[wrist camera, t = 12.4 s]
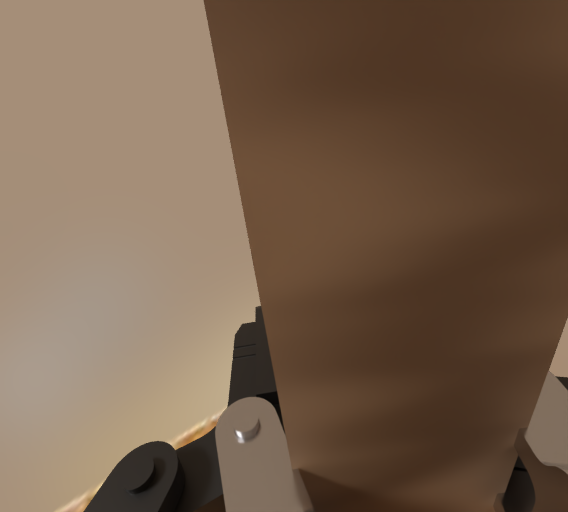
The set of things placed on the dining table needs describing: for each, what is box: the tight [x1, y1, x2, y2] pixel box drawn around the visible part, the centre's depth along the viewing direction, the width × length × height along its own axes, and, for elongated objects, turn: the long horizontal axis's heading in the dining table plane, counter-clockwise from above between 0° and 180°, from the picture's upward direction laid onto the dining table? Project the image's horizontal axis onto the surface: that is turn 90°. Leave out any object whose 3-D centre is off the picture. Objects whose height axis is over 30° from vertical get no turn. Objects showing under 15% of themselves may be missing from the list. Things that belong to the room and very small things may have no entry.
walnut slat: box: [204, 0, 568, 512], centre depth 7 cm, size 4×5×15 cm
